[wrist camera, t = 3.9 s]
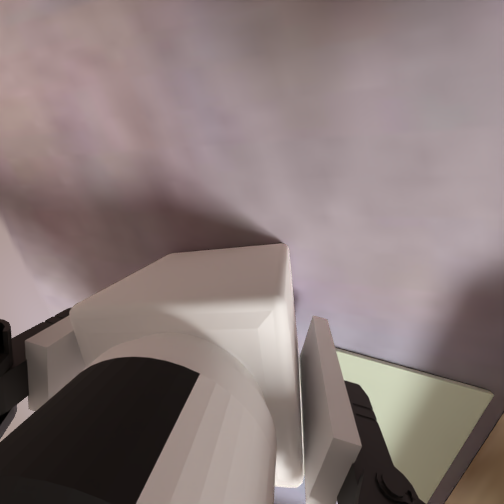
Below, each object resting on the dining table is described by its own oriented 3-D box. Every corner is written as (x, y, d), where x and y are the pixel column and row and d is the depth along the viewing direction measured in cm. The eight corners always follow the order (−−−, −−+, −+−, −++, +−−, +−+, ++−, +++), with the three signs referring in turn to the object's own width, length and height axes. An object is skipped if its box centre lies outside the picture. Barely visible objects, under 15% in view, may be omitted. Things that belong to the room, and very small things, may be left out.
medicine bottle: (190, 355, 16) (-53, 758, 5) (168, 252, 15) (-284, 487, 3) (299, 354, 15) (324, 902, 3) (288, 241, 13) (269, 574, 2)
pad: (312, 341, 15) (312, 344, 14) (489, 390, 14) (493, 395, 13) (273, 459, 17) (273, 463, 17) (418, 507, 16) (420, 512, 16)
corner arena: (270, 247, 14) (258, 279, 9) (597, 327, 12) (800, 419, 7) (209, 499, 19) (182, 600, 15) (423, 575, 18) (471, 716, 13)
